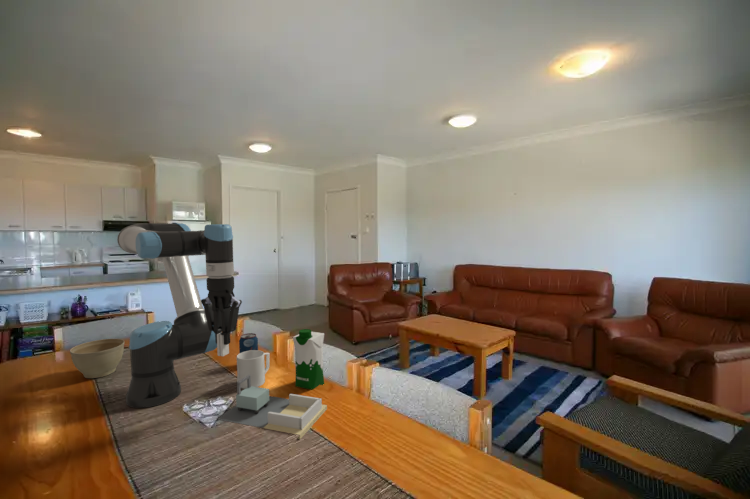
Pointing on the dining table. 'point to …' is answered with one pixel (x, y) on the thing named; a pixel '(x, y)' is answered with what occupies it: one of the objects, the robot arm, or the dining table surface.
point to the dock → (281, 414)
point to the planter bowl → (97, 357)
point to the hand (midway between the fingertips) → (223, 354)
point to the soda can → (248, 342)
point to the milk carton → (309, 359)
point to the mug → (252, 367)
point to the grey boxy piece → (251, 396)
